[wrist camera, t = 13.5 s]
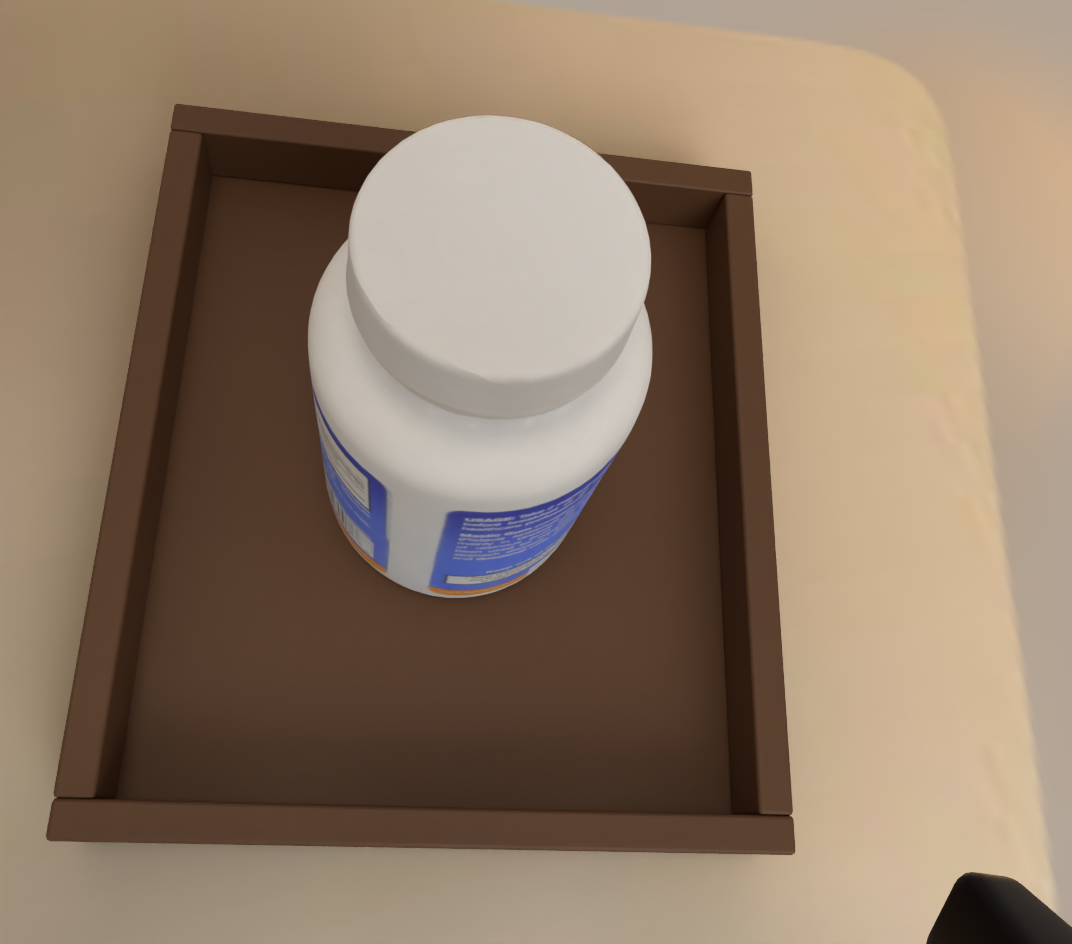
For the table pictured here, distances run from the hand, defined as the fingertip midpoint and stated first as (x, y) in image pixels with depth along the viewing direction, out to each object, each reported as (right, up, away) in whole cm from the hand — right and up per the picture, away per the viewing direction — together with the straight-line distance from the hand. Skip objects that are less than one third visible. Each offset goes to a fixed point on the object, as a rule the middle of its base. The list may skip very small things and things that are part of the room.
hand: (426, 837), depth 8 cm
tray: (-1, +3, +14) cm, 15 cm away
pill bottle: (-1, +3, +14) cm, 14 cm away
